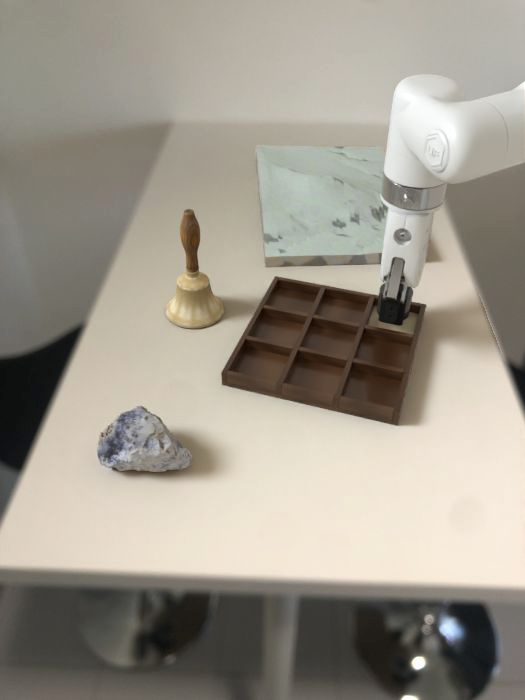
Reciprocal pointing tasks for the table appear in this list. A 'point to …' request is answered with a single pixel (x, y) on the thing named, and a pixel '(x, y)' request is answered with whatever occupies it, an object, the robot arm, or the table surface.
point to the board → (326, 350)
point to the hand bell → (193, 284)
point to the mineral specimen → (141, 444)
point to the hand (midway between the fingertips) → (393, 310)
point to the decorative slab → (321, 204)
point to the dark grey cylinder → (408, 297)
